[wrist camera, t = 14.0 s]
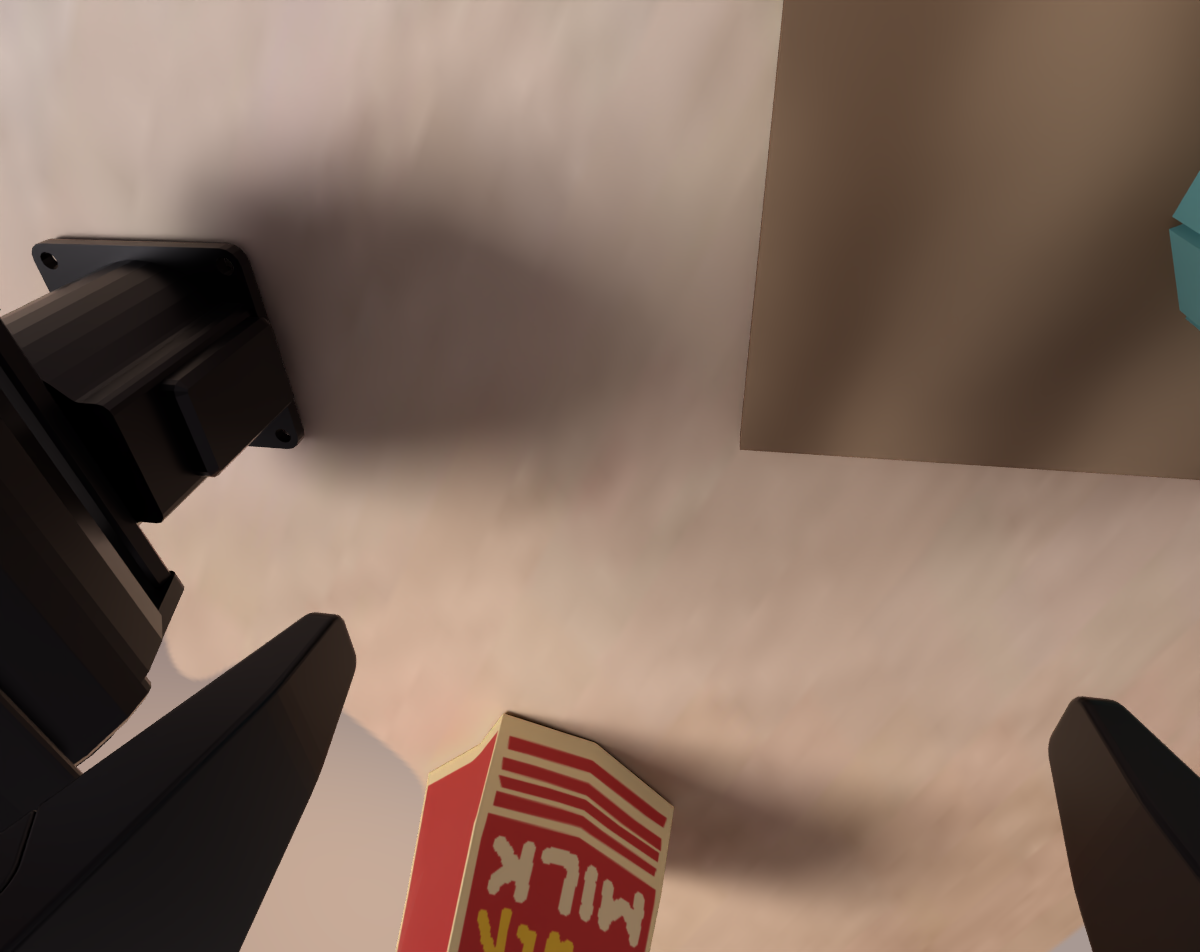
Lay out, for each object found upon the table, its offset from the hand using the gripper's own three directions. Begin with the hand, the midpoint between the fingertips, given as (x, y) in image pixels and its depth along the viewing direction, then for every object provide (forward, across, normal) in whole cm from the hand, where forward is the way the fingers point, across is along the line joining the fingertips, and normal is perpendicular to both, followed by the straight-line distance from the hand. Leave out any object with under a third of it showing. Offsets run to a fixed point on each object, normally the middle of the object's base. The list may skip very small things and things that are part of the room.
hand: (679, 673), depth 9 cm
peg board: (+12, -9, -2) cm, 15 cm away
